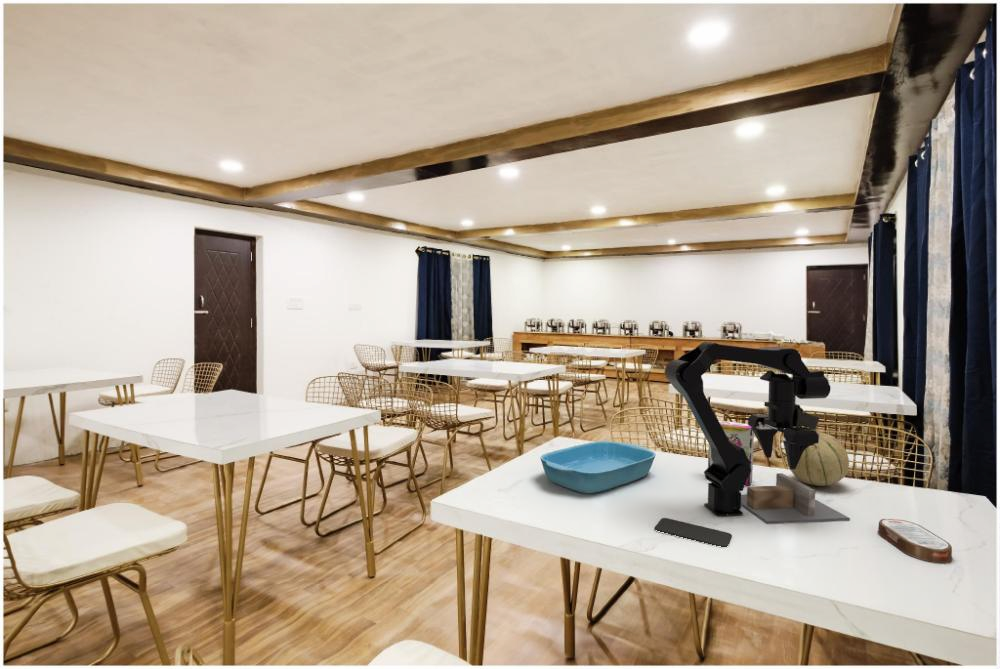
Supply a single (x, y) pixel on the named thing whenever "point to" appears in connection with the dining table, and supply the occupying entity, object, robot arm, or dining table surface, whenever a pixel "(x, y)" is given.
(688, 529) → the phone
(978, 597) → the dining table surface
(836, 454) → the cantaloupe
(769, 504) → the t-shaped pusher tool
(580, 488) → the casserole dish
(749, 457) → the candy bar box
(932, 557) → the tin
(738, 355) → the robot arm
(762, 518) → the tool mat
